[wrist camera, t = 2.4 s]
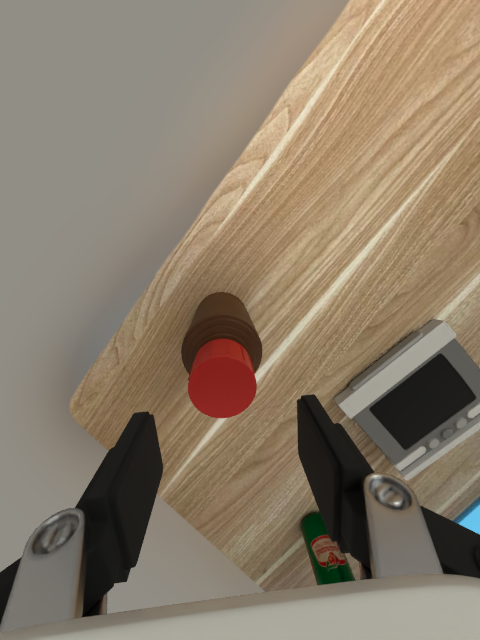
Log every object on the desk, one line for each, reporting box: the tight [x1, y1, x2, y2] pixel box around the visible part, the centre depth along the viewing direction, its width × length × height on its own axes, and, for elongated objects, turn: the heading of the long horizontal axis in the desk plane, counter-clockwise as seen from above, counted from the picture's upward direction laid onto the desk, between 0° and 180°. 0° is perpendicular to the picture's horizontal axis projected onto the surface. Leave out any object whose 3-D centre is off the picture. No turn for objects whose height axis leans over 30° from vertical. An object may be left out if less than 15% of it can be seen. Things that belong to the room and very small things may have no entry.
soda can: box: [301, 512, 356, 585], centre depth 35 cm, size 5×5×12 cm
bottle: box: [181, 292, 262, 375], centre depth 23 cm, size 6×6×17 cm
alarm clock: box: [334, 319, 480, 481], centre depth 34 cm, size 17×5×16 cm
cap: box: [188, 339, 257, 418], centre depth 16 cm, size 4×4×3 cm
